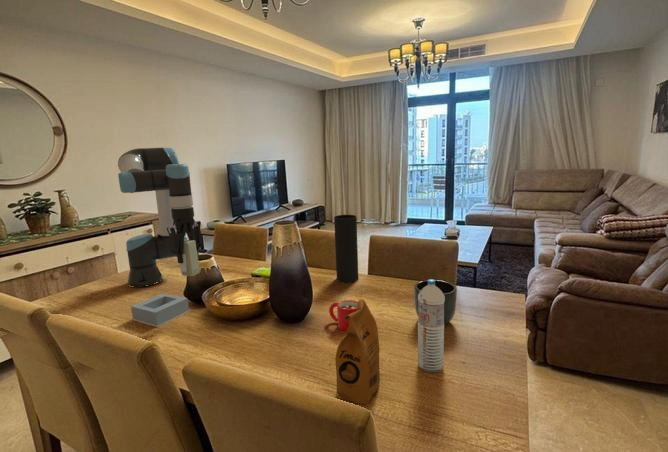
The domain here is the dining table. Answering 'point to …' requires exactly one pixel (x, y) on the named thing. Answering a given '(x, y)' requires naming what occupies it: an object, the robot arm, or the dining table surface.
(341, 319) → the mug
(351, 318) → the coffee package
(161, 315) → the socket
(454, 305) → the planter
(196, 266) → the box
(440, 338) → the water bottle
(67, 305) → the dining table surface
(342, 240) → the vase
